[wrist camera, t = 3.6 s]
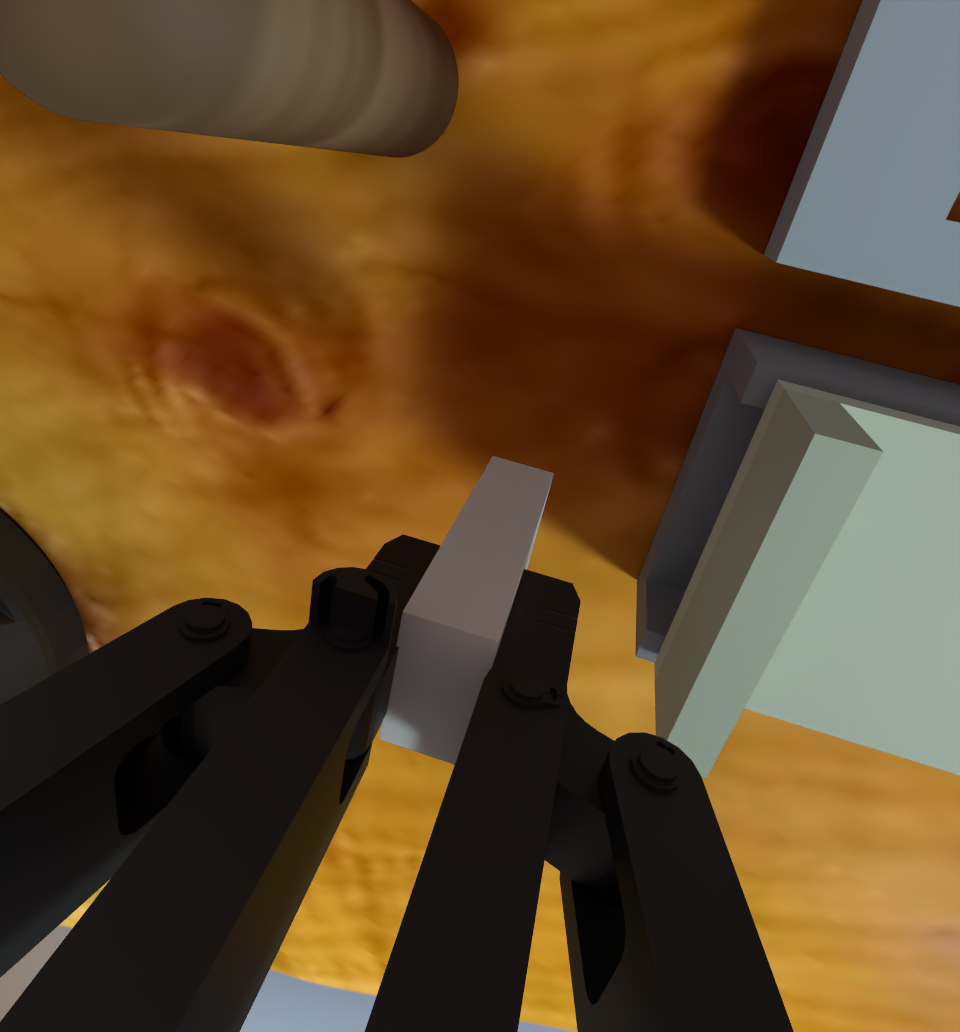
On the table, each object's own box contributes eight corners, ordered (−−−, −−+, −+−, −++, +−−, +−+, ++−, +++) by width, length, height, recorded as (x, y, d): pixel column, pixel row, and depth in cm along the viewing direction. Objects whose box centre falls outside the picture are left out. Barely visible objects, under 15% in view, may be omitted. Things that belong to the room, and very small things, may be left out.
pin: (328, 142, 19) (-49, 88, 9) (341, -10, 18) (-107, -299, 7) (445, 170, 19) (197, 150, 8) (470, 17, 17) (199, -245, 7)
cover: (654, 662, 19) (656, 762, 16) (777, 379, 15) (815, 433, 12) (1049, 784, 18) (1140, 918, 15) (1297, 514, 14) (1499, 615, 11)
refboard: (636, 580, 23) (635, 656, 20) (735, 327, 19) (757, 362, 15) (988, 684, 22) (1058, 786, 18) (1176, 439, 18) (1317, 507, 14)
